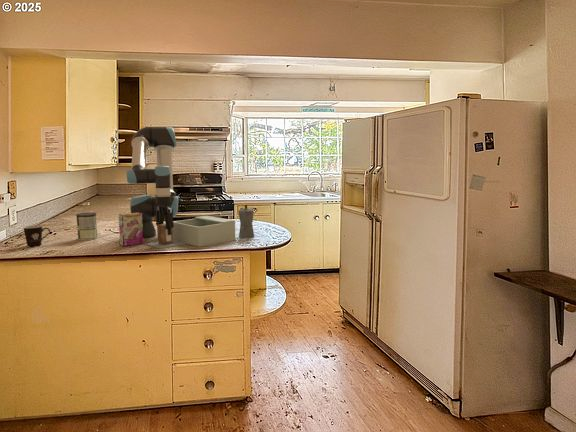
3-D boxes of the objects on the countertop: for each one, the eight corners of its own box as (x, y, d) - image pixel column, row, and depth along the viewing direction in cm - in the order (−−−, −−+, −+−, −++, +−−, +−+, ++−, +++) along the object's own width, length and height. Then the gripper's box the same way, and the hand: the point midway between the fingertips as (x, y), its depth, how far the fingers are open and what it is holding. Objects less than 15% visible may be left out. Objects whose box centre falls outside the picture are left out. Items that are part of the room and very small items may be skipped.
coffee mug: (23, 248, 245) (21, 228, 244) (27, 244, 253) (25, 225, 252) (48, 246, 248) (46, 227, 247) (51, 243, 256) (49, 224, 255)
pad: (146, 244, 251) (146, 243, 251) (169, 240, 261) (169, 239, 261) (160, 248, 242) (160, 247, 242) (184, 244, 252) (184, 243, 252)
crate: (171, 239, 264) (170, 220, 263) (206, 233, 281) (206, 215, 280) (199, 246, 246) (198, 225, 245) (235, 239, 263) (234, 220, 262)
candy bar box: (123, 246, 246) (121, 215, 244) (119, 245, 250) (117, 214, 248) (144, 243, 254) (142, 213, 251) (140, 242, 258) (138, 212, 255)
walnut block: (157, 243, 251) (156, 224, 250) (167, 242, 255) (167, 223, 254) (162, 245, 248) (162, 225, 246) (173, 243, 252) (172, 224, 250)
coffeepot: (258, 237, 269) (258, 205, 266) (242, 239, 265) (242, 206, 262) (248, 233, 283) (248, 202, 280) (233, 234, 278) (232, 203, 276)
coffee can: (73, 239, 267) (72, 214, 265) (89, 236, 275) (88, 212, 273) (85, 241, 261) (84, 215, 259) (101, 238, 270) (100, 213, 268)
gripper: (179, 196, 244) (181, 241, 247) (160, 194, 257) (162, 236, 260) (166, 197, 239) (168, 243, 242) (147, 195, 252) (149, 238, 255)
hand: (165, 240), depth 251 cm, fingers open, 6 cm apart
